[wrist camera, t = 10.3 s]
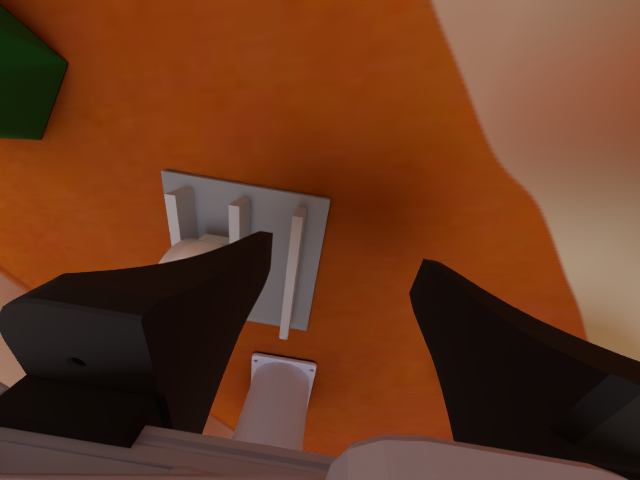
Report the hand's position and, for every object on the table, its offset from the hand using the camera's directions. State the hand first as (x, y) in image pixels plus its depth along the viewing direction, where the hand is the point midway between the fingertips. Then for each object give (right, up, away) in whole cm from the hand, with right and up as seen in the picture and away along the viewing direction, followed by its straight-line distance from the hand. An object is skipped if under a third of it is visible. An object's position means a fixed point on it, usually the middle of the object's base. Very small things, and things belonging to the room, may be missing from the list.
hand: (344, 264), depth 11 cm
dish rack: (-8, -1, +11) cm, 14 cm away
